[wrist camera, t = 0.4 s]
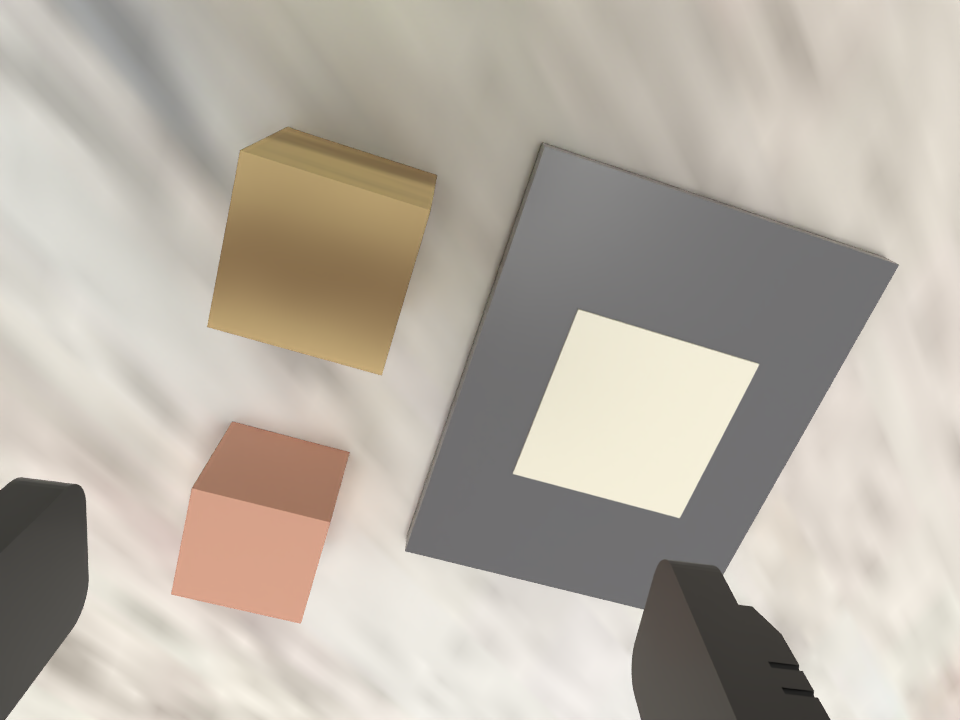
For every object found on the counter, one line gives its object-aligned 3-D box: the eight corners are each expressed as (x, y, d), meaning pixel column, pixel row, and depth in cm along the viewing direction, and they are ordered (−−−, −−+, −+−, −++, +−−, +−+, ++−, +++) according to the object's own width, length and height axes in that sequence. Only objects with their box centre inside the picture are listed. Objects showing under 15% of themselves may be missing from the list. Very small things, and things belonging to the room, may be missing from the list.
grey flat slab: (542, 142, 26) (545, 146, 25) (884, 257, 28) (900, 265, 27) (406, 536, 33) (405, 552, 32) (689, 606, 35) (696, 623, 34)
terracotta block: (232, 420, 30) (191, 488, 26) (349, 451, 31) (330, 522, 27) (212, 515, 32) (171, 594, 28) (323, 542, 33) (300, 623, 28)
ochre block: (287, 126, 26) (240, 150, 20) (437, 174, 27) (430, 210, 21) (257, 270, 28) (207, 327, 22) (397, 311, 29) (381, 375, 23)
